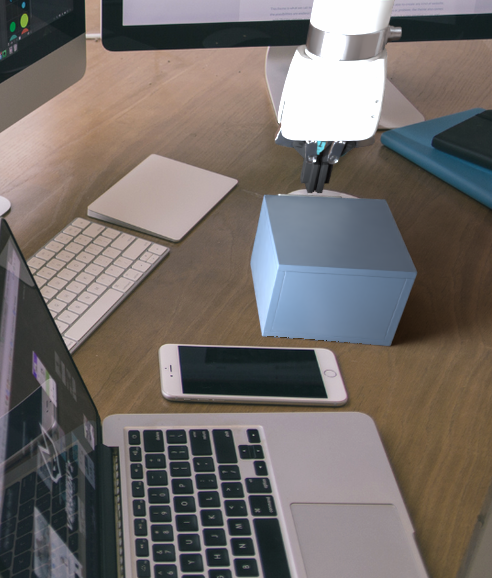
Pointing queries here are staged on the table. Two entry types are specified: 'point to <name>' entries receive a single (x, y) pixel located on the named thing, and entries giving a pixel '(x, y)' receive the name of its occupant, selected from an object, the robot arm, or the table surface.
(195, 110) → the table surface
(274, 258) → the cabinet
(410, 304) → the table surface
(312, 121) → the robot arm
